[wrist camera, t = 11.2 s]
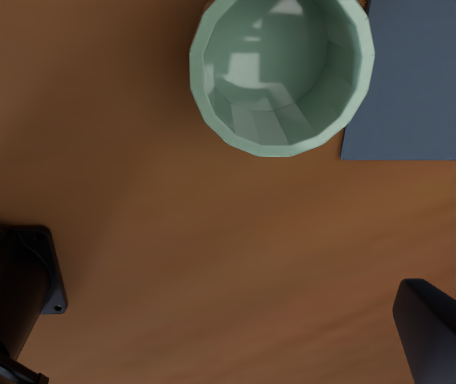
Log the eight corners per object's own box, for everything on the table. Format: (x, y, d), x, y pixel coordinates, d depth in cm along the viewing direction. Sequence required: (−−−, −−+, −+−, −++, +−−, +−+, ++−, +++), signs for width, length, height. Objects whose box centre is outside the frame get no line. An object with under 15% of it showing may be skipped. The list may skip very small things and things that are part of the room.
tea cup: (324, 118, 20) (356, 157, 16) (195, 117, 20) (191, 157, 15) (345, -30, 17) (393, -32, 13) (192, -34, 17) (186, -37, 12)
